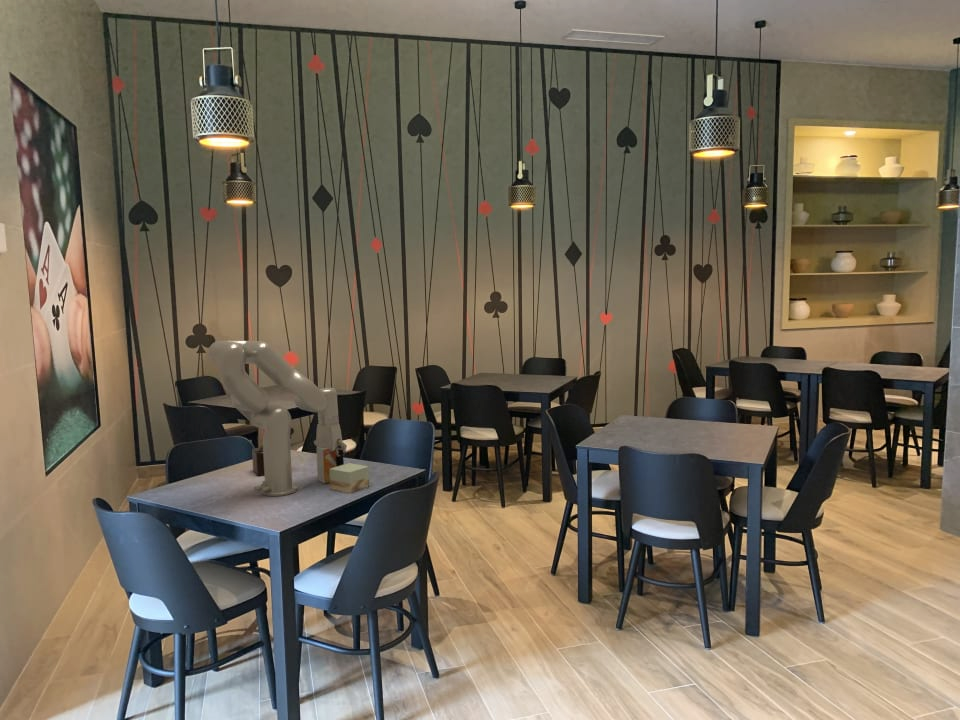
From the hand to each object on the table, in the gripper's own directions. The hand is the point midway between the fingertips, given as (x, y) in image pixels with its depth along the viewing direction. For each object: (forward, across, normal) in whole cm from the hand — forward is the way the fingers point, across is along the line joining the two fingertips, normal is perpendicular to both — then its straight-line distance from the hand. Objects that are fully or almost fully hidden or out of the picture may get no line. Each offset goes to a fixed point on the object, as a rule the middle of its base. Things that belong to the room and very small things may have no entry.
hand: (331, 464), depth 281 cm
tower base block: (+6, +14, -4) cm, 16 cm away
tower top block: (+2, +14, -4) cm, 15 cm away
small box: (+6, 0, -1) cm, 6 cm away
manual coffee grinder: (+6, -30, -4) cm, 31 cm away
